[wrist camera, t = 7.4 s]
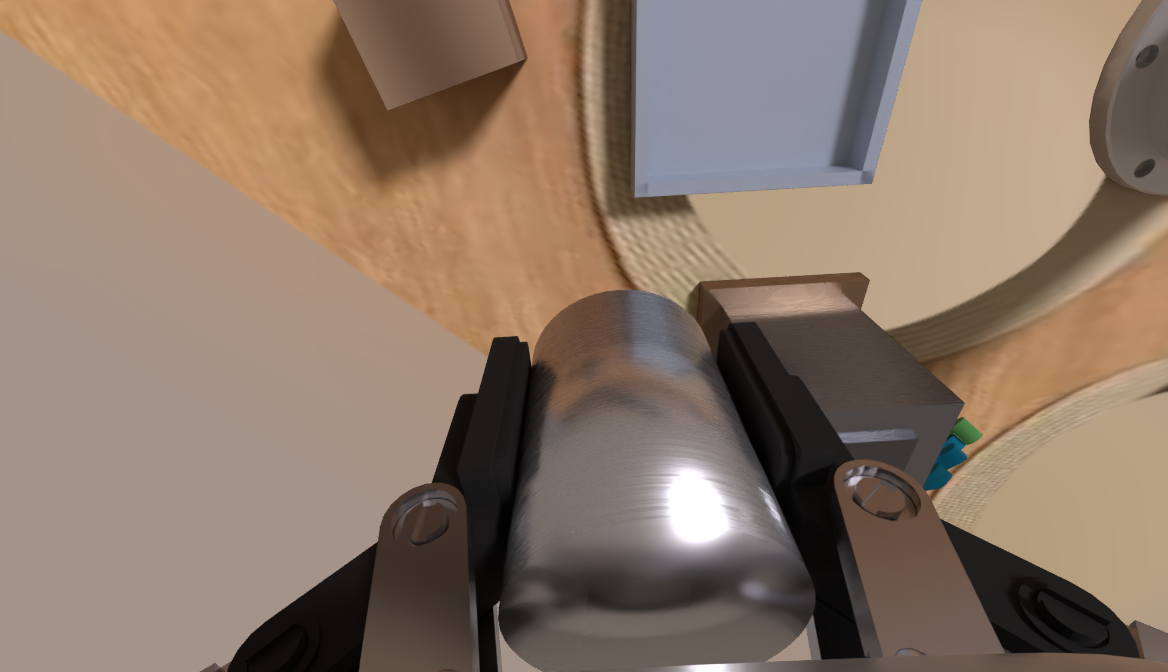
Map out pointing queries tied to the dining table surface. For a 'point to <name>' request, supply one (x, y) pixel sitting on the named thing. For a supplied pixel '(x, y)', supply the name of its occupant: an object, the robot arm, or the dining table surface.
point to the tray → (762, 92)
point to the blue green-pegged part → (951, 453)
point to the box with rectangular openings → (842, 363)
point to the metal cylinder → (642, 504)
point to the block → (430, 43)
